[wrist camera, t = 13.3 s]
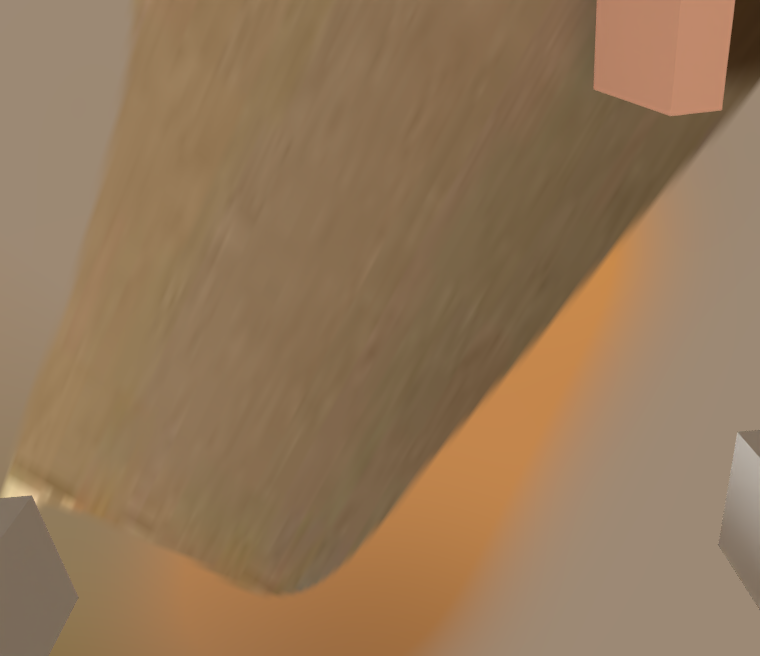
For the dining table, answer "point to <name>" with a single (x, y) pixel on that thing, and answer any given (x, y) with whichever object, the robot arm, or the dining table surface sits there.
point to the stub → (664, 53)
